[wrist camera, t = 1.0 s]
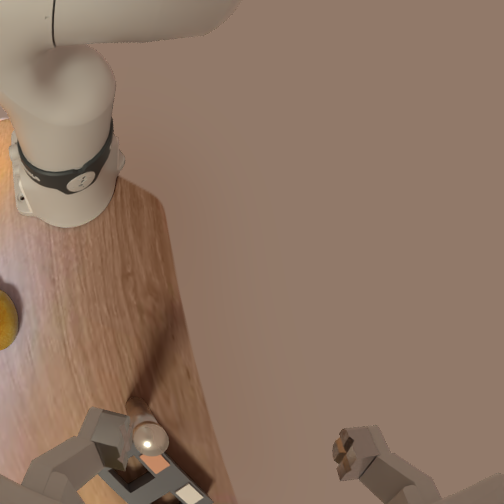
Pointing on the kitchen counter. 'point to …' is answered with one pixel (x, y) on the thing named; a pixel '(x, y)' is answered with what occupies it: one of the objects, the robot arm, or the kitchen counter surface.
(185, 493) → the socket board
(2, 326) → the bread roll
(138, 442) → the metal plug
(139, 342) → the kitchen counter surface
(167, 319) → the kitchen counter surface
